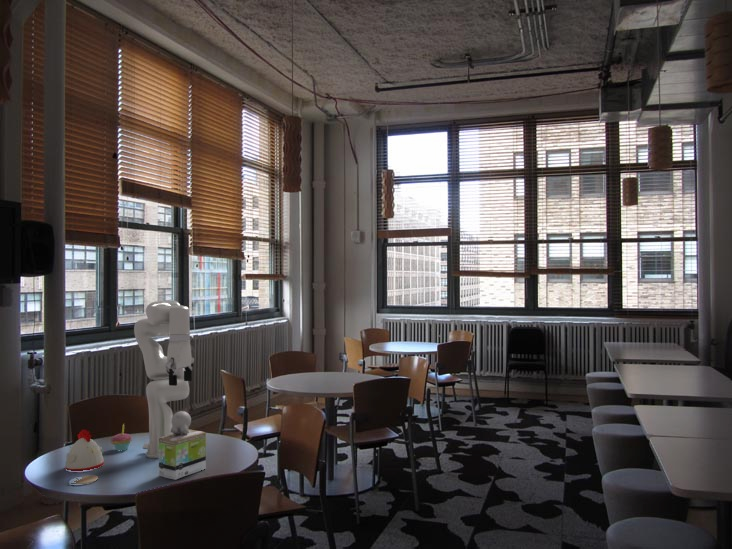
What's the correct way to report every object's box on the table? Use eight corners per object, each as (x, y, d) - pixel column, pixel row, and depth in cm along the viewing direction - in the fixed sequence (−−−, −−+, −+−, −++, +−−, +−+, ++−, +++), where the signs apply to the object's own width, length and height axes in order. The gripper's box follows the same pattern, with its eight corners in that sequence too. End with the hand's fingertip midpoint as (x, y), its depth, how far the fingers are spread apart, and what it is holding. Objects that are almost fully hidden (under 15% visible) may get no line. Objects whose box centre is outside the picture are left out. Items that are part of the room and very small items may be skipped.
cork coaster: (61, 484, 217) (61, 483, 217) (82, 475, 227) (82, 474, 227) (84, 486, 214) (84, 485, 214) (104, 477, 224) (104, 476, 224)
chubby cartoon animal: (195, 436, 233) (197, 414, 237) (186, 432, 222) (189, 409, 226) (176, 436, 233) (179, 414, 237) (167, 432, 222) (170, 409, 225)
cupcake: (136, 448, 262) (135, 421, 262) (118, 453, 255) (118, 425, 255) (123, 446, 267) (123, 419, 267) (106, 451, 259) (106, 423, 260)
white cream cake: (78, 475, 228) (77, 436, 228) (58, 469, 235) (57, 431, 235) (110, 465, 239) (110, 428, 239) (90, 460, 247) (90, 424, 247)
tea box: (176, 480, 218) (175, 440, 218) (158, 476, 224) (157, 437, 224) (207, 469, 231) (206, 431, 231) (189, 465, 236) (188, 428, 236)
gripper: (184, 336, 237) (185, 379, 237) (157, 340, 221) (158, 387, 221) (200, 336, 235) (201, 379, 235) (174, 341, 219) (175, 387, 219)
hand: (180, 383), depth 228 cm, fingers open, 9 cm apart
